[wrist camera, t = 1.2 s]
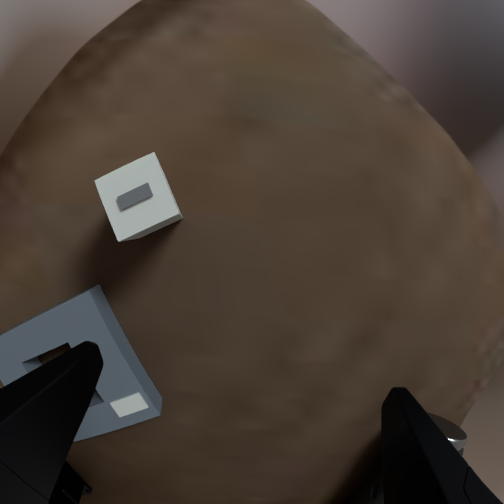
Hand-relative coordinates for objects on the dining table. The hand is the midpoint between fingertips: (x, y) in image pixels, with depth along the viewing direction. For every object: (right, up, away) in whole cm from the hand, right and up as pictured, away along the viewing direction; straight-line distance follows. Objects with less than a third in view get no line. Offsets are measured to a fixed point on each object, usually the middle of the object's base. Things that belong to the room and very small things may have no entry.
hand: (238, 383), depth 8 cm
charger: (-8, +8, +17) cm, 20 cm away
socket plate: (-17, -7, +16) cm, 24 cm away
